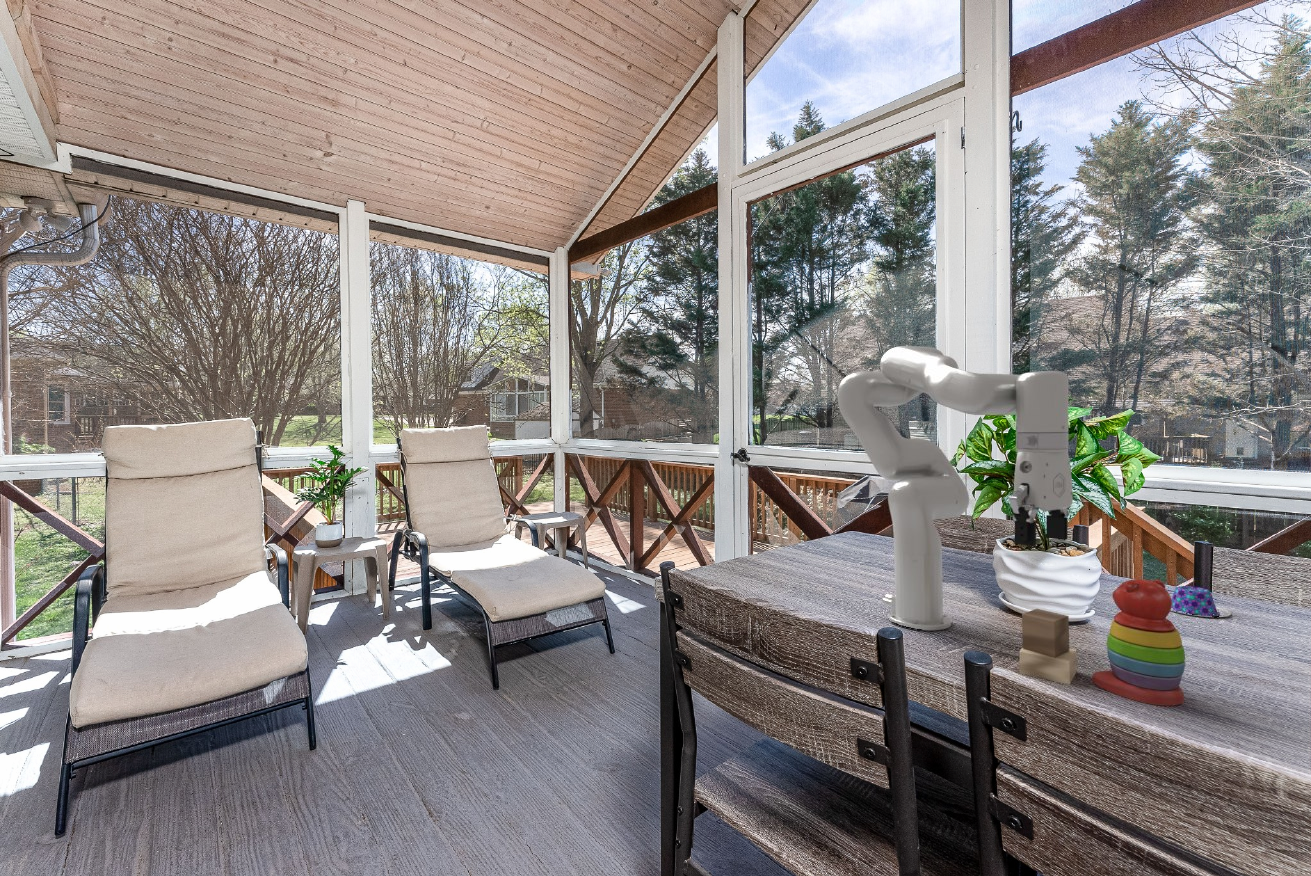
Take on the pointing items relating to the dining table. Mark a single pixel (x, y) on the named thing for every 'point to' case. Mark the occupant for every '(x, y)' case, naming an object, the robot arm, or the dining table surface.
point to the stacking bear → (1144, 646)
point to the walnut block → (1045, 632)
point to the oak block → (1049, 665)
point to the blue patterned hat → (1195, 601)
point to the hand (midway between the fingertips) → (1041, 541)
